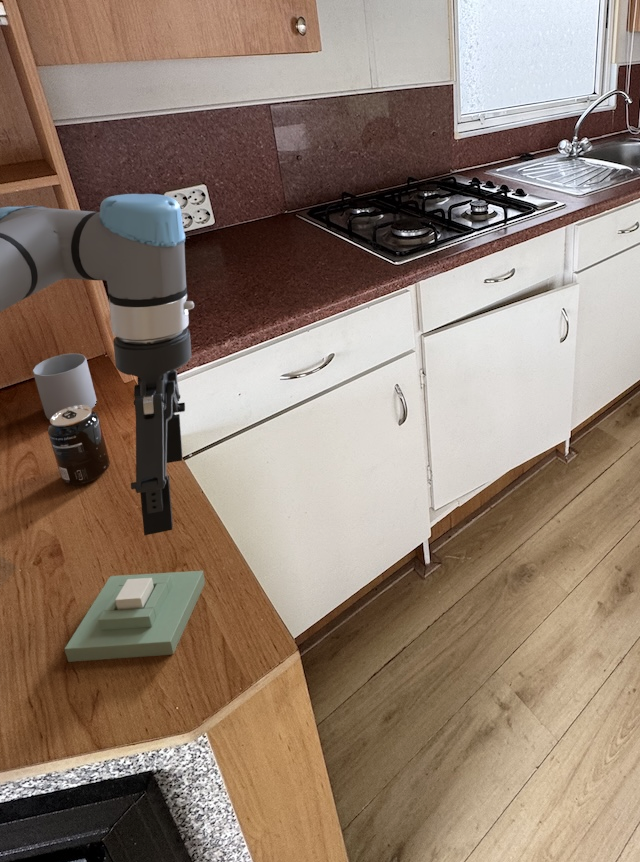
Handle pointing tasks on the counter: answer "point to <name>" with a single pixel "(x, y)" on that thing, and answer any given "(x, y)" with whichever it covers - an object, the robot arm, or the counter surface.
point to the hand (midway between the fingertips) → (165, 493)
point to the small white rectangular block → (134, 594)
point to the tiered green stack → (137, 619)
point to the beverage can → (78, 444)
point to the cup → (64, 383)
